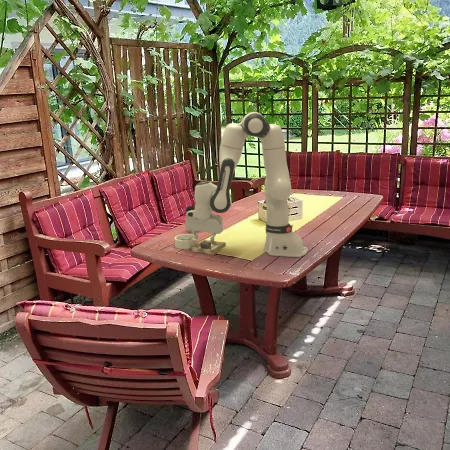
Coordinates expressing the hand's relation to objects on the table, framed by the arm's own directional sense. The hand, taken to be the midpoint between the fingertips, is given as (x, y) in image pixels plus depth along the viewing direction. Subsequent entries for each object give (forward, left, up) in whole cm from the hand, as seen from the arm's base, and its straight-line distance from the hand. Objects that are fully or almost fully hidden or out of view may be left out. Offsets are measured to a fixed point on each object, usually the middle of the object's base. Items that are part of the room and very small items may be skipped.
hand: (204, 239), depth 242 cm
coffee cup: (+22, -29, -7) cm, 37 cm away
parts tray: (-1, -3, -7) cm, 8 cm away
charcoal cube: (-1, 0, -6) cm, 6 cm away
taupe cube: (+13, -4, -6) cm, 15 cm away
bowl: (+13, -3, -7) cm, 15 cm away
